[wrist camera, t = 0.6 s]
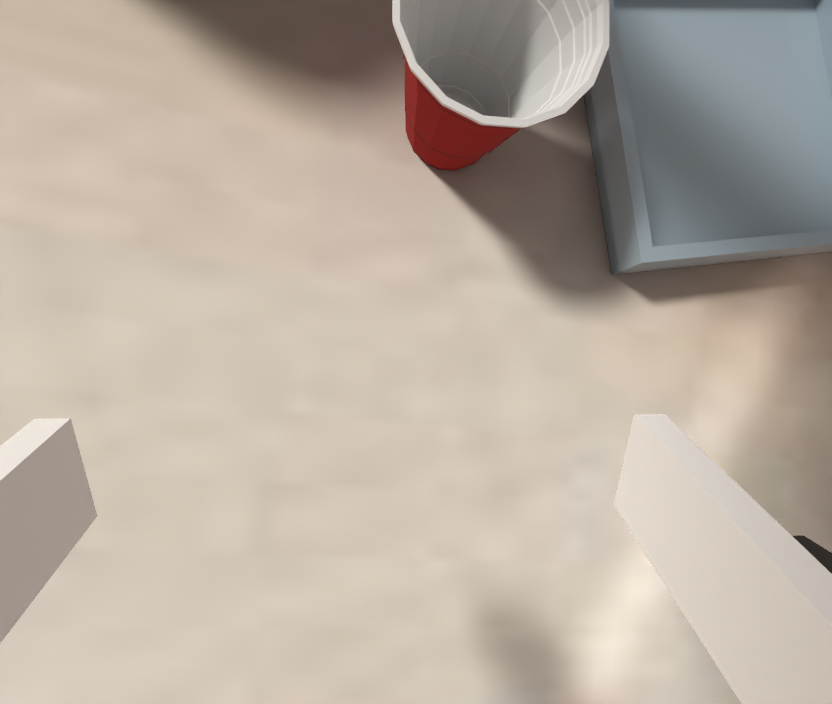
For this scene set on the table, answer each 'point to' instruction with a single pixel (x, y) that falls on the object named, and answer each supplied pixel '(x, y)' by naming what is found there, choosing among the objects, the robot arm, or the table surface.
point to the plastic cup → (493, 69)
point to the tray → (713, 131)
